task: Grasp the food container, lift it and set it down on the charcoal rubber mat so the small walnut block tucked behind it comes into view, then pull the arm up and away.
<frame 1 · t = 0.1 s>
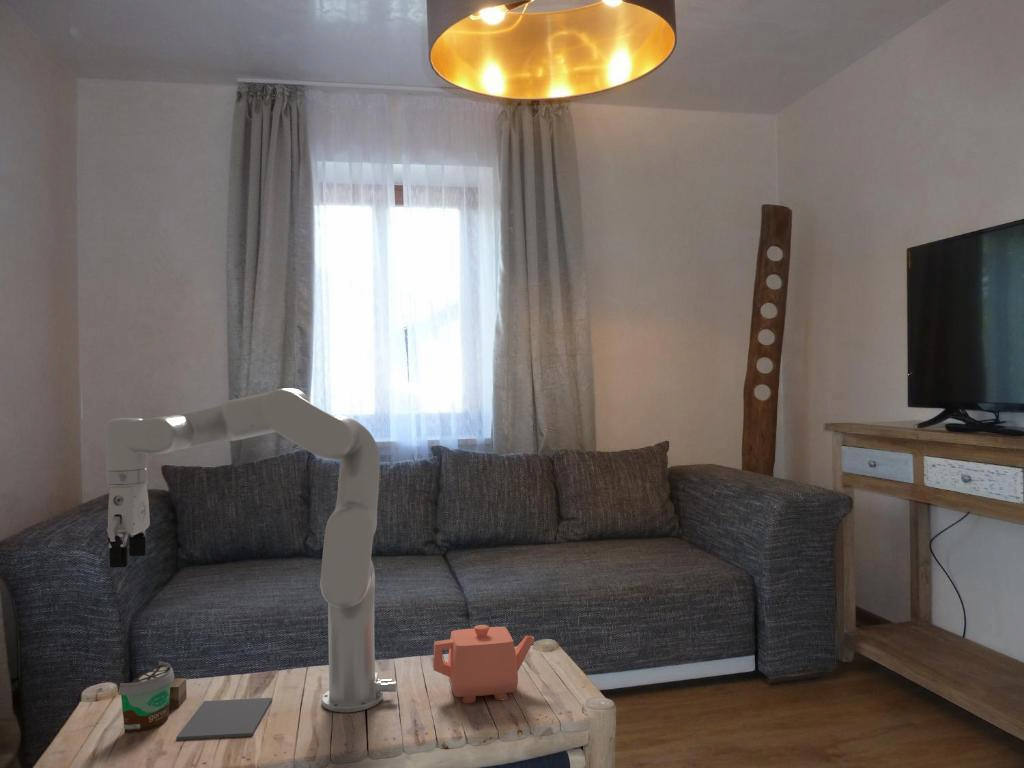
hand: (128, 561, 154), 31 cm above the table, tool pointing down, fingers open, 9 cm apart
mat: (227, 719, 149), on the table
food container: (154, 724, 148), on the table
teapot: (485, 692, 161), on the table
walnut block: (171, 704, 157), on the table
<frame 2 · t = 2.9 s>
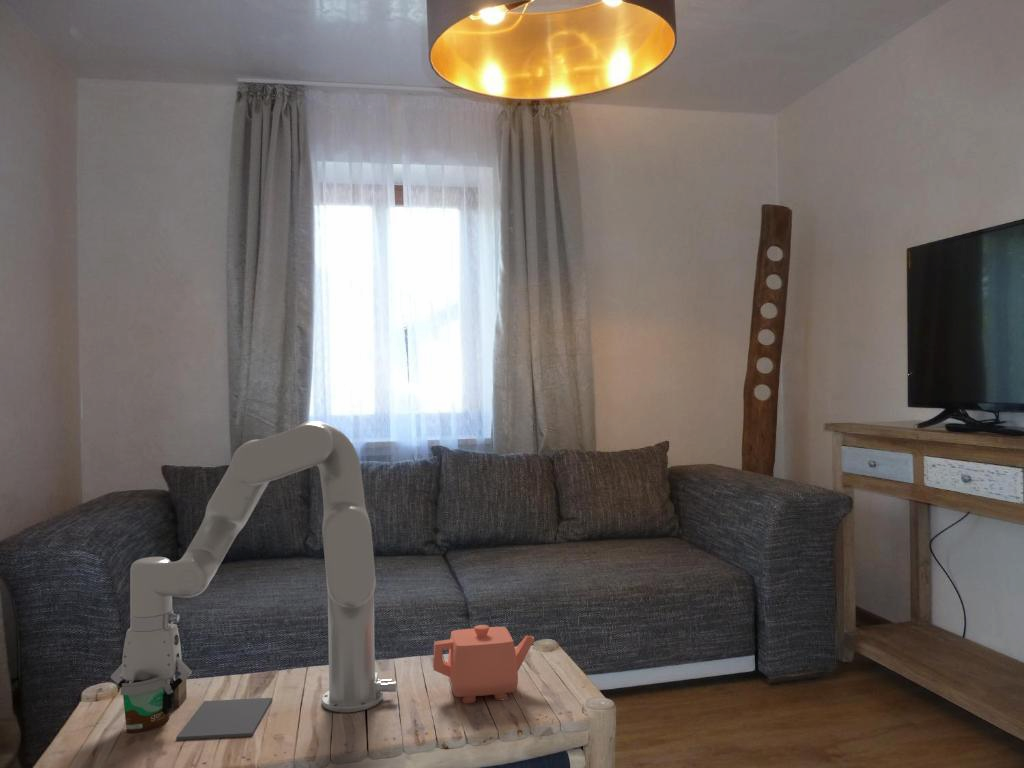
hand: (151, 711, 148), 2 cm above the table, tool pointing down, fingers closed on food container, 5 cm apart
food container: (156, 723, 148), on the table, touching gripper
everything else where it was.
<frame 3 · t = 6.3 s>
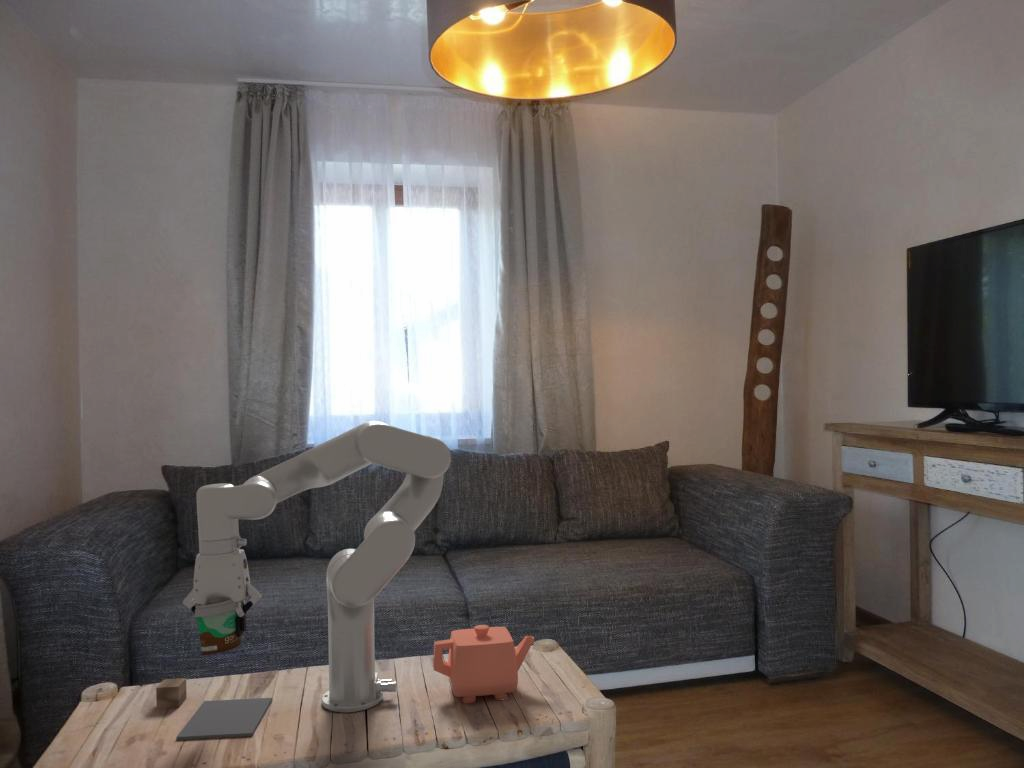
hand: (224, 635, 150), 17 cm above the table, tool pointing down, fingers closed on food container, 5 cm apart
food container: (229, 647, 150), point 14 cm above the table, touching gripper
everything else where it was.
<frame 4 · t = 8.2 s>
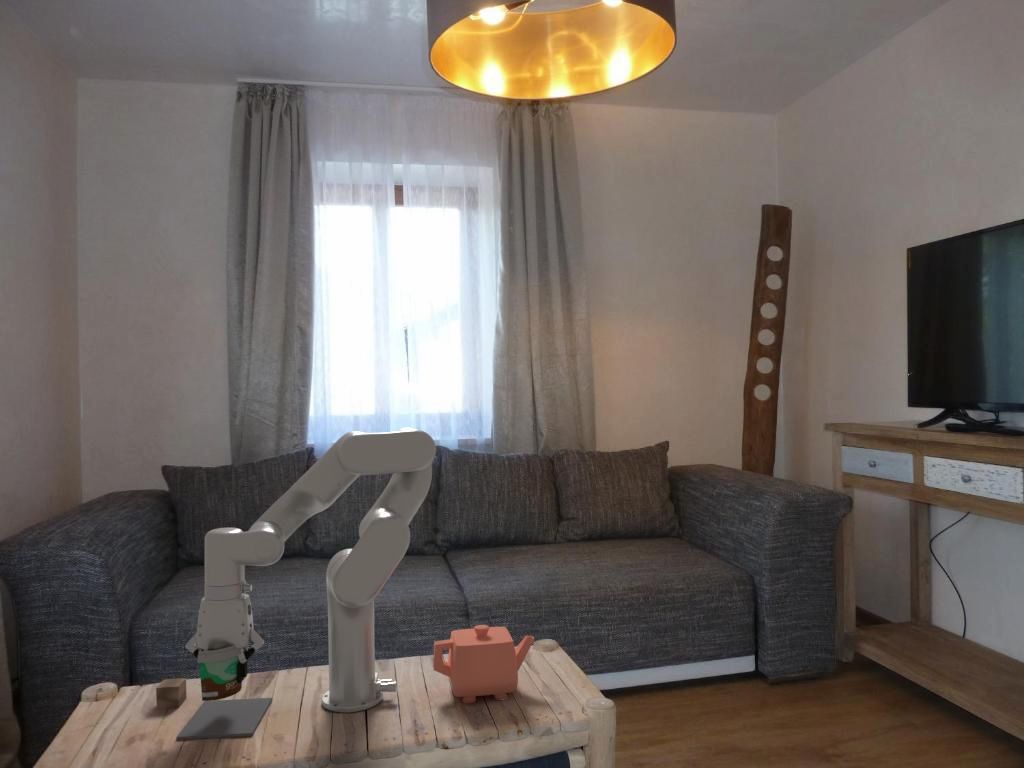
hand: (225, 680, 149), 8 cm above the table, tool pointing down, fingers closed on food container, 5 cm apart
food container: (229, 692, 149), point 5 cm above the table, touching gripper
everything else where it was.
when the fingers open (4 cm above the table, at t = 9.4 s): food container moves 1 cm, resting on mat.
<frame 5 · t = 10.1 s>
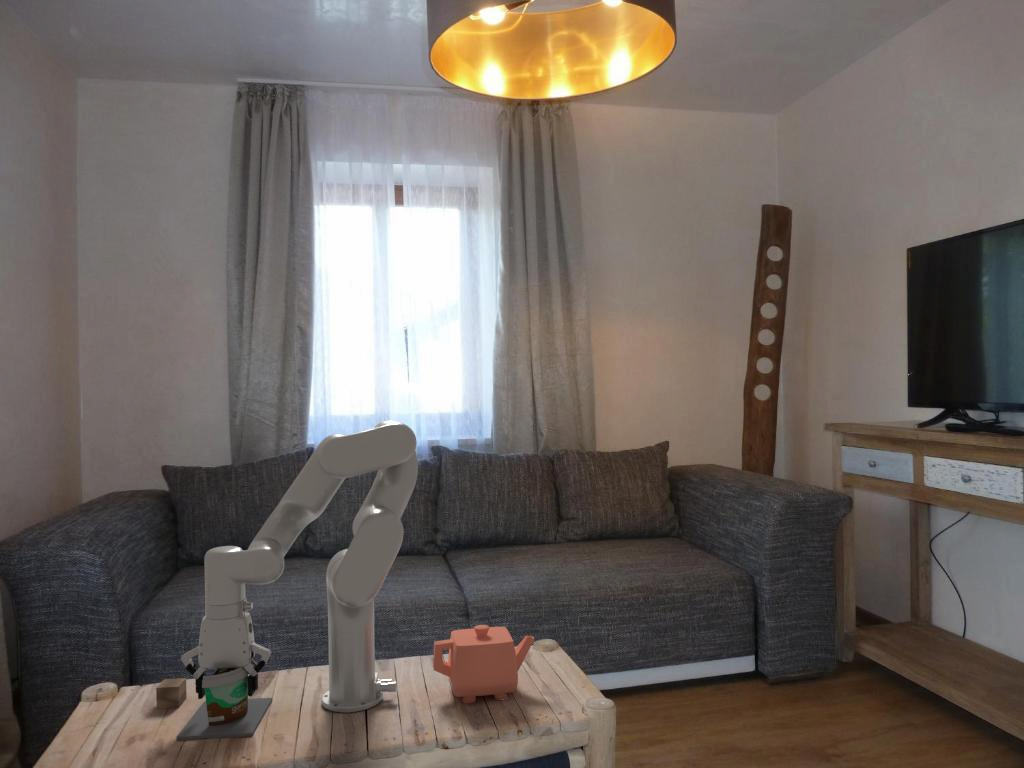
hand: (227, 694, 149), 5 cm above the table, tool pointing down, fingers open, 9 cm apart
food container: (236, 716, 150), point 1 cm above the table, touching gripper, mat
everything else where it was.
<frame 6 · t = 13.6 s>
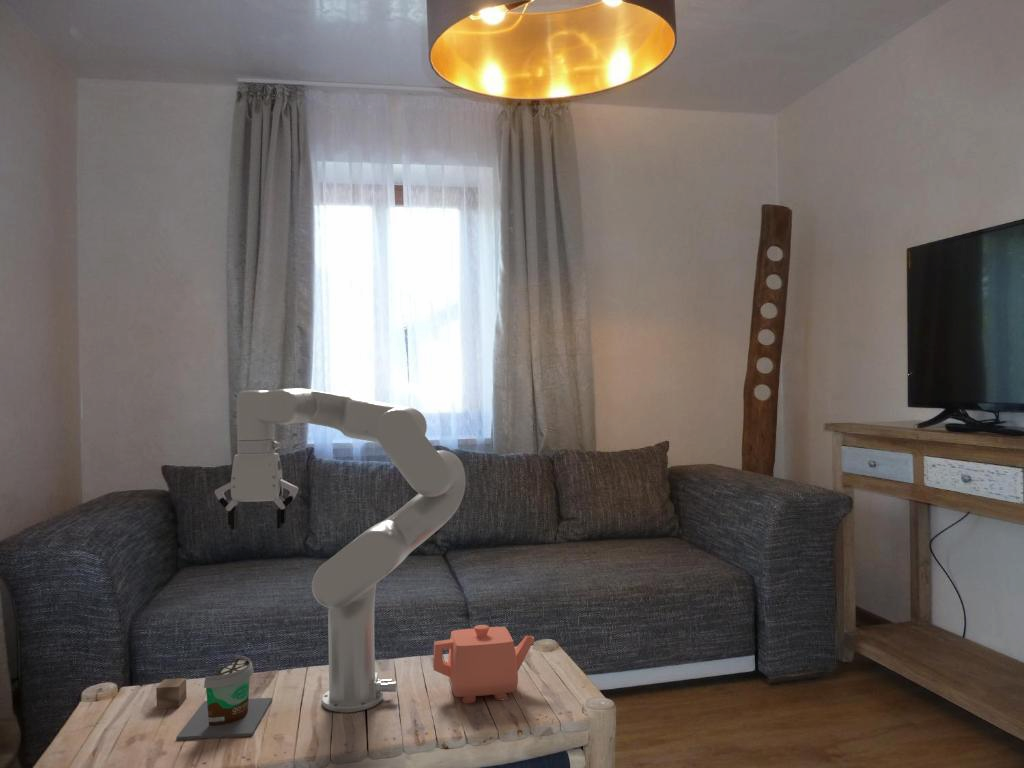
hand: (257, 527, 160), 36 cm above the table, tool pointing down, fingers open, 9 cm apart
food container: (236, 716, 150), resting on mat
everything else where it was.
at the end: food container inside the target area on the mat (1.8 cm from its centre), point 0.4 cm above the mat's base; food container tilted 0°; walnut block moved 0.1 cm from its start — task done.
